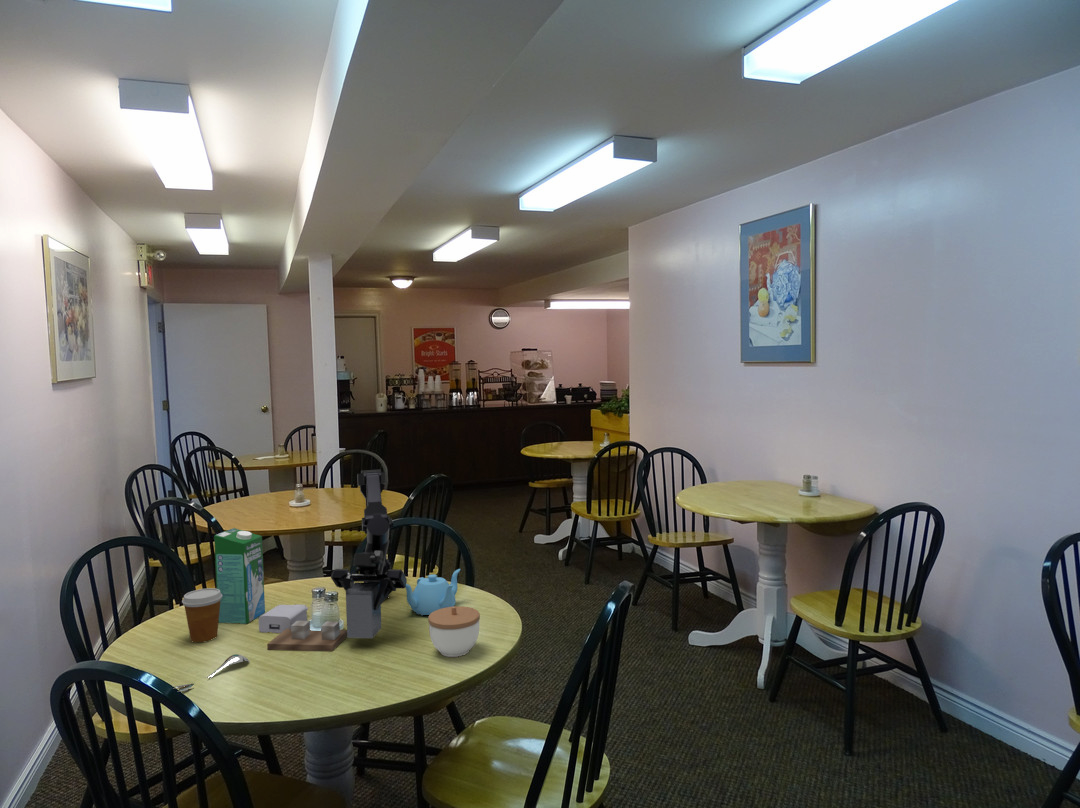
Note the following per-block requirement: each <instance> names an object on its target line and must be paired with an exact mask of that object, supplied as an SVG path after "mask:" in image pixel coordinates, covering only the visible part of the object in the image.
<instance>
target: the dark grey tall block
mask: <svg viewBox="0 0 1080 808" xmlns="http://www.w3.org/2000/svg"><path fill="white" fill-rule="evenodd" d="M379 587H380V583H364V582H354V584H353V585H352V586H351V587H349V588H348V589H347V590H346V591H345V606H346V607H345V610H346V611H345V613H346V615H345V616H346V630H347V637H346V638H347V639H374V637H375V636H376V635H377V634H378V632H380V631H381V629H382V611H381V610H382V604H381V605H380V606H379V608H378V609H377V610H375V609H374V606H375V601H376V598H377V594H378V591H379Z"/></svg>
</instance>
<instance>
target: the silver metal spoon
mask: <svg viewBox="0 0 1080 808" xmlns="http://www.w3.org/2000/svg"><path fill="white" fill-rule="evenodd" d="M245 661H247V662H246V663H248V662H249V663H250V660H249V659H248V658H247V657H246V656H244V655H242V654H237V653H235V654H232V655H230V656H228V657H227V658H226V659H225V660H224V661H223V662H222V664H221V665H220V666H219V667H218V668H217V669H215V670H214V671H212V673H211V674H209V675H208V676H207V678H209V677H211V678H213V676H215V675H216V674H217V673H218V672H220V671H222V670H223V669H225V668H226V667H229V666H231V665H236V664H238V663H242V662H243V663H244V662H245ZM190 684H191V683H188V684H180V685H173V687H176V688H175V689H179V690H180V691H179V692H185V691H189V690H188V689H189V688H191V687H192V686H193V685H194V684H192V685H190ZM188 685H189V686H188ZM184 686H185V687H184Z"/></svg>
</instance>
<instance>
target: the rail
mask: <svg viewBox="0 0 1080 808" xmlns="http://www.w3.org/2000/svg"><path fill="white" fill-rule="evenodd" d="M340 625H341V624H340V621H336V620H335V621H334V620H327V621H325V622H324V623H323V624H321V627H320V629H321V631H311V630H310V629H311V621H310V620H307V621H296V622H295V623H294V624H292V625H291V629H285V630H284V631H283V632H281V633H278V634H277V635H276V636H275V637H274V638H273V639H272V640H270V641H268V643H267V644H266V645H267V646H266V647H267V651H268V650H269V651H303V652H304V651H306V652H307V651H309V652H315V651H317V652H318V651H319V652H320V651H321V652H333V651H335V649H337V647H338V646H340V644H341V643H342V642H343V641H344V640H346V638H347V629H341V628H340Z"/></svg>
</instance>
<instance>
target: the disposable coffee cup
mask: <svg viewBox="0 0 1080 808" xmlns="http://www.w3.org/2000/svg"><path fill="white" fill-rule="evenodd" d="M221 598H222V594H221V592H220V590H219V589H217V588H215V587H214V588H212V587H211V588H200V589H196V590H192V591H188V592H187V593H185V594H184V595H183V599H182V600H181V603H182V604H183V606H184V611H185V616H186V622H187V627H188V632H189V638H190V642H192V641H193V642H192V643H195V642H201V643H205V642H204V641H207V642H210V641H212V640H211V639H213V638H215V637H216V638H217V637H218V633H219V630H218V629H219V624H220V623H219V612H220V601H221ZM216 638H215V639H216ZM209 640H210V641H209ZM213 640H214V639H213Z"/></svg>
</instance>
